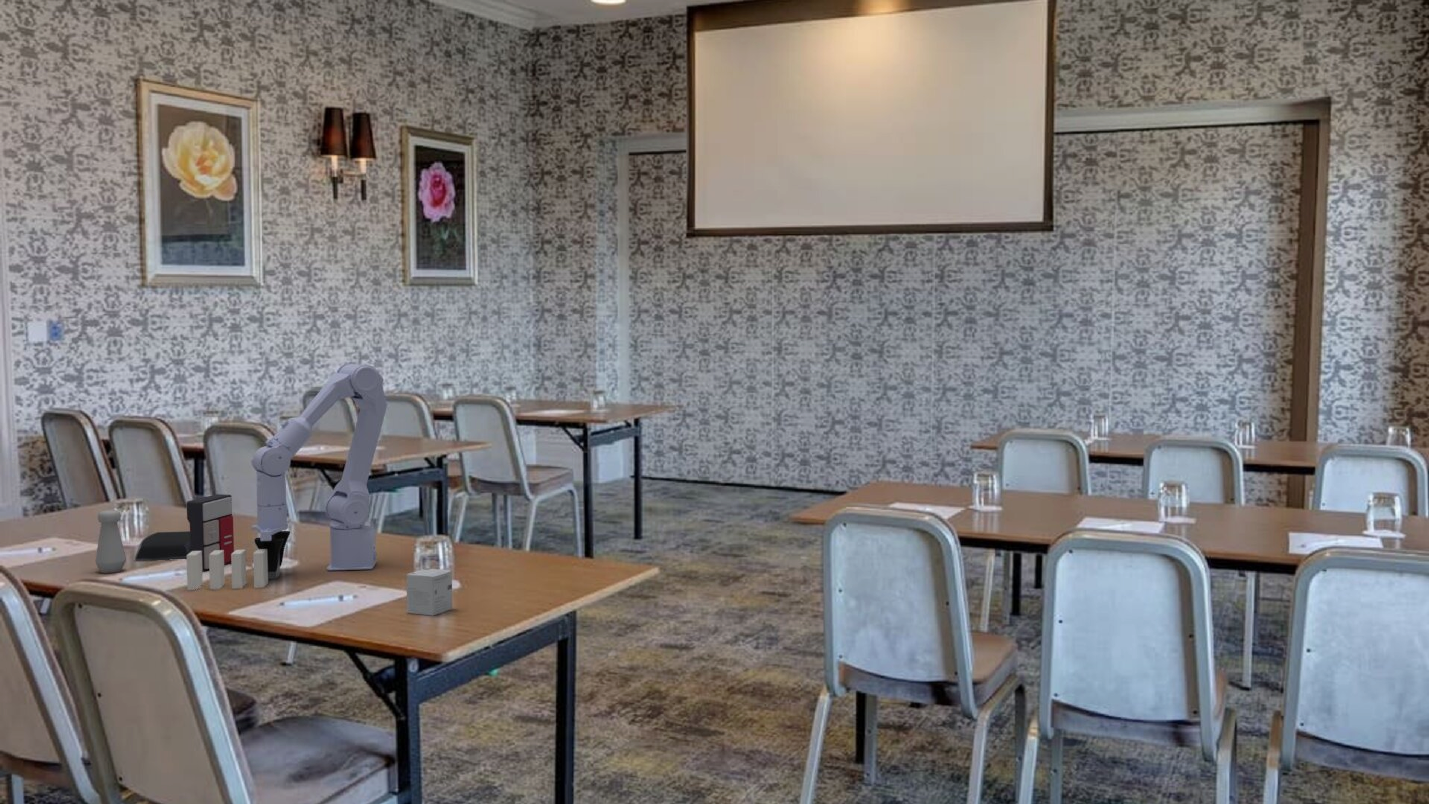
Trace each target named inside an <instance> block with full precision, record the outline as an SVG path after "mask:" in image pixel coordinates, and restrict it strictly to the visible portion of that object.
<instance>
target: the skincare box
mask: <svg viewBox="0 0 1429 804" xmlns="http://www.w3.org/2000/svg"><path fill="white" fill-rule="evenodd" d="M452 573H453V571H452V570H450V569H449V570H448V569H438V568H426V567H425V568H423V569H420V570H415V571H413V572H410V573H407V574H406V613H407V614H412V615H413V614H415V615H424V616H436V615H439V614H441V613H444V612H447V611H450V610H452V609H453V576H452V575H453V574H452Z"/></svg>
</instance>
